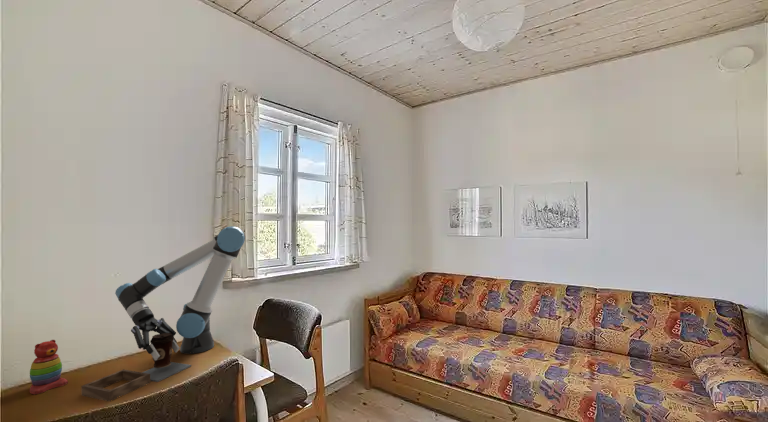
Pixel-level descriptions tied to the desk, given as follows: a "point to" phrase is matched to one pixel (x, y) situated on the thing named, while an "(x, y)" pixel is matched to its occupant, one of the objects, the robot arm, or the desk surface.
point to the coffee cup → (162, 349)
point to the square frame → (98, 391)
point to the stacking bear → (46, 368)
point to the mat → (165, 371)
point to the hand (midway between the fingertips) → (167, 354)
